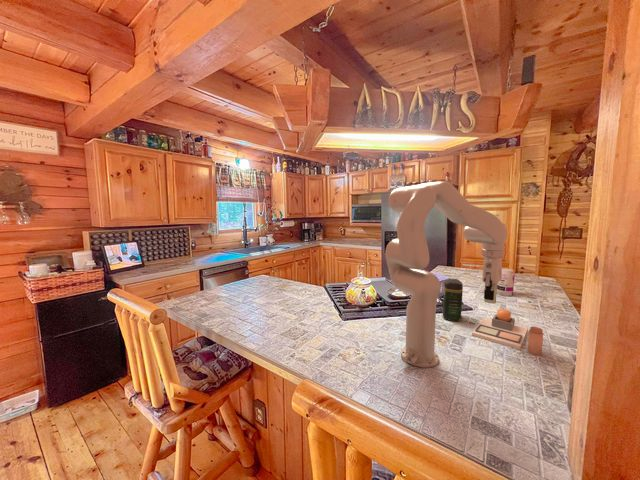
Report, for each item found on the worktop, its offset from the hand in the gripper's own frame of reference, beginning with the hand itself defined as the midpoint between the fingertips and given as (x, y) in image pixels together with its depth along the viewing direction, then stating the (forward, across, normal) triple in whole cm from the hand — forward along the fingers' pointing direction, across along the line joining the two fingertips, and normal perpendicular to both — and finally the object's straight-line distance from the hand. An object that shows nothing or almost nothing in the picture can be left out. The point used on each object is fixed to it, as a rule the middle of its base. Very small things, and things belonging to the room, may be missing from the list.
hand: (490, 297), depth 107 cm
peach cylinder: (+16, -4, -15) cm, 23 cm away
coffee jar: (+16, +8, +17) cm, 25 cm away
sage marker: (+2, 0, 0) cm, 2 cm away
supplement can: (+17, +63, +5) cm, 65 cm away
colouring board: (+16, +5, -3) cm, 17 cm away
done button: (+12, +10, -3) cm, 17 cm away
